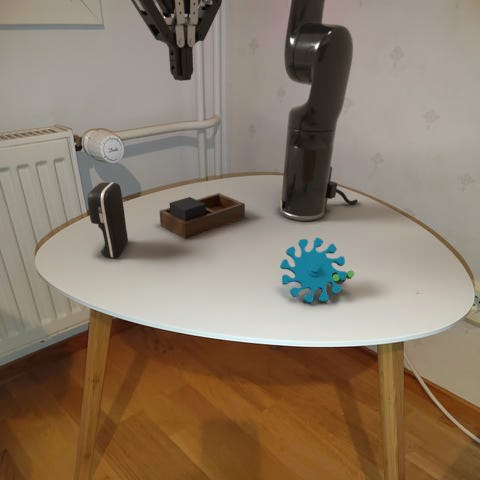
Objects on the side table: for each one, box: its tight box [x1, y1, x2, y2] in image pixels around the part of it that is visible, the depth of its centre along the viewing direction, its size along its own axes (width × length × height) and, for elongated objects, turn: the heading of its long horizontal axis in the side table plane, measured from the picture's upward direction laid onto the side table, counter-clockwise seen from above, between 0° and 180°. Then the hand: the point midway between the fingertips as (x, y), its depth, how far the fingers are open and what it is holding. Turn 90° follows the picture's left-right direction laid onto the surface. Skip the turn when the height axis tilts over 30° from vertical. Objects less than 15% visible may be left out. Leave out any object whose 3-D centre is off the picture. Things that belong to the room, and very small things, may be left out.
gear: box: [279, 237, 355, 304], centre depth 64 cm, size 11×6×10 cm
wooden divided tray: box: [159, 192, 246, 240], centre depth 84 cm, size 8×15×3 cm, turn 133°
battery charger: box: [87, 181, 129, 259], centre depth 71 cm, size 7×4×11 cm, turn 175°
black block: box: [169, 196, 206, 222], centre depth 81 cm, size 5×5×4 cm
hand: (182, 79), depth 57 cm, fingers closed
